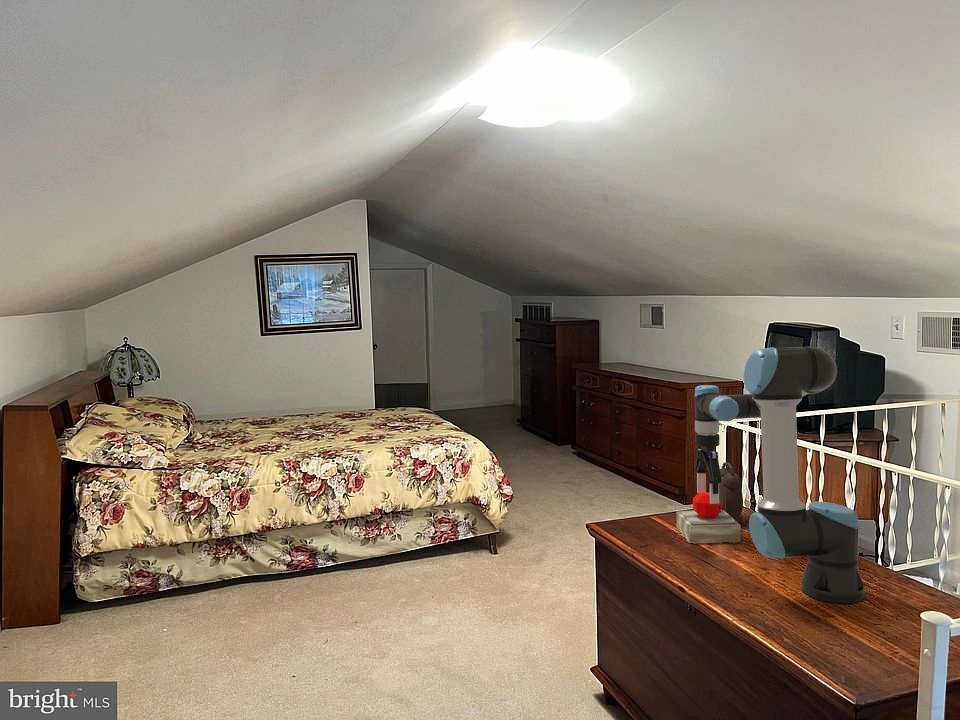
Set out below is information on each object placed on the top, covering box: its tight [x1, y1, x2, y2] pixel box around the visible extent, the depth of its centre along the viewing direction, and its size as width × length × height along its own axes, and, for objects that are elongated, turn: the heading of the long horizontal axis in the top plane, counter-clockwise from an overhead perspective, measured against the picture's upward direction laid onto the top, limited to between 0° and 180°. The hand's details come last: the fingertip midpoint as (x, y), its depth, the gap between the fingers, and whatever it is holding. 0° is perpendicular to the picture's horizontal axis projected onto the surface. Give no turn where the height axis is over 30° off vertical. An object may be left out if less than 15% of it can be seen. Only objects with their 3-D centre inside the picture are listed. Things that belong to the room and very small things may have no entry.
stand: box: [675, 510, 742, 544], centre depth 241 cm, size 16×16×6 cm
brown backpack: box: [719, 461, 744, 523], centre depth 256 cm, size 15×7×20 cm, turn 179°
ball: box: [692, 491, 721, 519], centre depth 241 cm, size 8×8×8 cm
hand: (707, 498), depth 240 cm, fingers open, 13 cm apart
